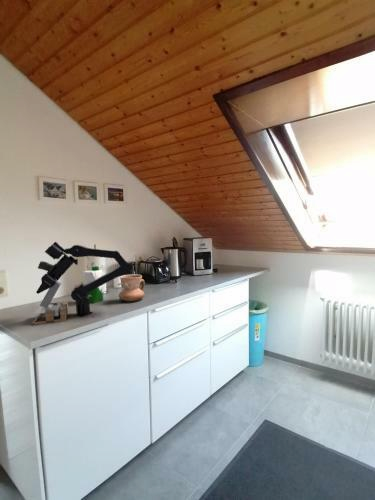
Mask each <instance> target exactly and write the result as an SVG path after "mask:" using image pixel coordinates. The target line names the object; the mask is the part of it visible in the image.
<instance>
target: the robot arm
mask: <svg viewBox="0 0 375 500" xmlns="http://www.w3.org/2000/svg"><path fill="white" fill-rule="evenodd" d="M44 253H45V254H46V255H48V256H49V257H50V258H51V259H53V260H58V261H57V262H56V263H55V264H53V263H52V264H51V263H49V262H46V261H41V260H40V262H39V264H38V266H37V269H39V270H42V271H46V273H44V274H43V275H42V277H41V278H40V280H41V284H40V285H39V287H38V289H37V290H36V291H35V293H36V294H41V293H43V292H45V291H48V290H49V288H51V287H53V286H54V285H55V284H56V282H59V280H60V279H61V277H62V276H63V275H64V274H65V273H66V272H67V271H68V270H69V268H71V267H72V265H74V264H75V265H76V266H78V265H79V258H84V257H96V258H106V259H107V258H108V259H114V260H115V261H116V263H117V264H118V265H117V266H116V267H115V268H114V269H113V270H111V271H109V272H107V273H105V274H102V276H101V277H99V278H97V279H96V280H94V281H92V282H90V283H88V284H85V283H84V282H80V283H79V284H77V285H75V286H74V287H73V288H72V290H71V294H70V297H71V299H72V300H74V301H75V311H76V313H75V312H74V313H73V315H74V316H78V317H85V316H88V315H91V314H93V313H94V312H93V311H91V307H90V304H91V303H89V301H88V298H89V295H88V293H90V292H91V291H92V290H94V289H96V288H98V287H99V286H101V285H102V286H103V285H105V284H107V283H109V282H111V281H112V280H114V279H116V278H119V277H120V276H123V275H130V274H131V273H132V272H133V265H132V264H131V263H130V262H129V261H127V260H126V259H124V257H123V256H122V255H121V253H120V252H119V251H118V250H107V249H99V248H90V247H87V246H85V245H80V244H74V245H72V246H71V247H69V248H67V247H66V248H64V247H62V246H61V245H60V244H59V243H58V242H57V241H54V242H53V243H52V244H51V245H50V246H48V247H47V249H46V250H45V251H44ZM69 255H70V256H69Z"/></svg>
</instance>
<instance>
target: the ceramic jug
mask: <svg viewBox="0 0 375 500" xmlns="http://www.w3.org/2000/svg"><path fill="white" fill-rule="evenodd" d="M119 277H120V282H118V283H117V285H118V286H122V287H123V289H122V290H121V291H120V292H119V294H118V297H119V299H120V300H121V301H124V302H138V301H140V300H142V299H143V298H144V297H145V292H144V289H145V286H146V285H145V284H146V283H145V280H144V279H142V278H143V275H141V274H137V273H134V274H133V273H132V274H131V273H130V274H126V275H123V276H119ZM140 285H141V287H140ZM139 287H140V288H139Z"/></svg>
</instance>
